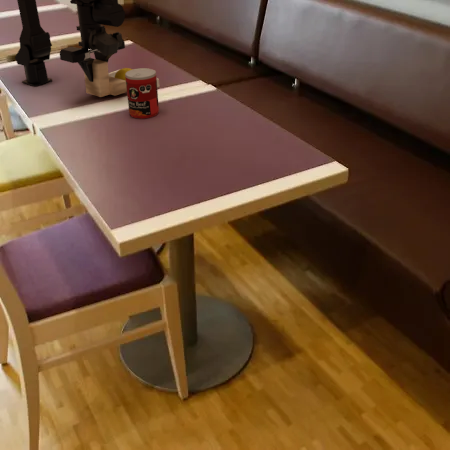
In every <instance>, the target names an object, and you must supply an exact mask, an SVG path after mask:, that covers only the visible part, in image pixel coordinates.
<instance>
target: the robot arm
mask: <svg viewBox="0 0 450 450" xmlns="http://www.w3.org/2000/svg"><path fill="white" fill-rule="evenodd" d="M16 2H17V5H18V10H19V15H20V21H21V26H22V29H21V31H20V35H19V37H18V38H19V50H18V51H17V53H16V54H15V56H14V59H15V61H16V64H17V65H19V66H23V69H24V74H25V79H24V80H22V83H23V84H26V85H29V86H32V87H38V86H41V85H43V84H48V83H50V82H53V79H52V78H49V77H48V73H47V68H46V64H45V63H46V61H49V60H51V51H52V47H53V43H52V42H51V35H50V33H49V32H48V31H45V29H43V27H42V26H41V21H40V17H39V11H38V5H37V1H36V0H16ZM70 4H73V5H76V11H77V18H78V19H77V20H78V25H77V26H75V27H76V31H78V32H80V34H79V35H80V41H78V46H79V47H74V46H68V47H65V48H61V49H60V51H59V59H60V60H61V61H64V62H68V63H72V64H78V65H79V66H80V68H81V69H82V70H83V74H84V73H85V74H86V76H87V77H88V79H89V81H90V82H93V69H92V63H93V61H94V59H97V60H101V61H105V62H109V60H110V58H111V57H112V56H113V55H115V54H117V53H118V51H120V50H123V49H126V45H125V40H124V39H123V35H122V33H121V32H119V31H116V32H113V33H107V29H106V27H105V26H108V27H115V28H118V27H121V26H122V25H123V23H124V22H125V19H126V11H125V10H124V7H123V5H122V4H120V3H119V1H118V0H70ZM91 54H93V55H94V58H93V57H92V56H91Z"/></svg>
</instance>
